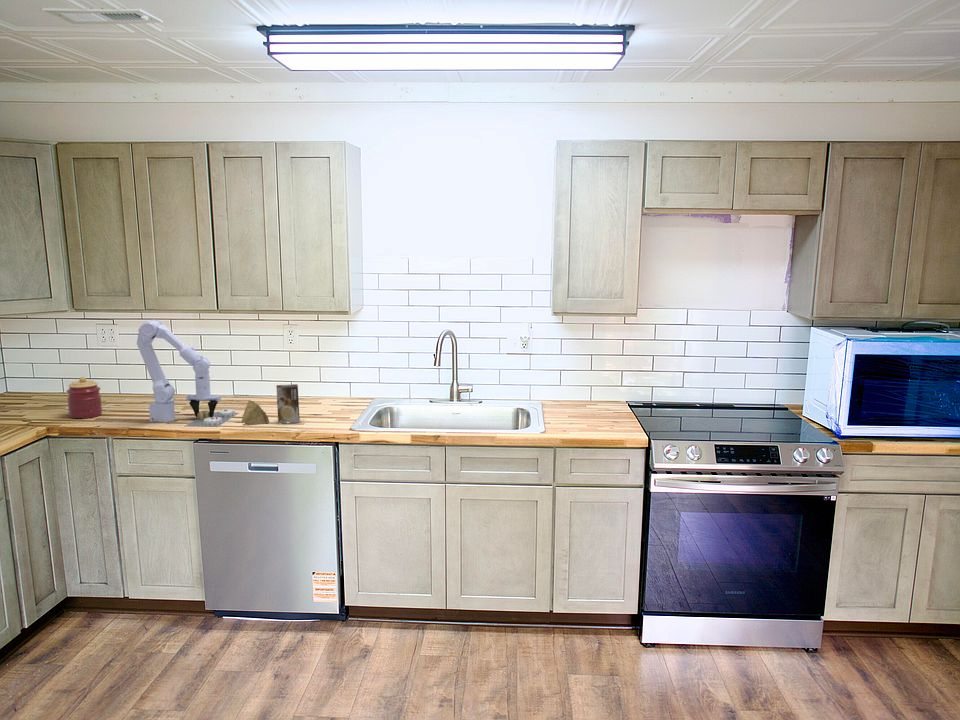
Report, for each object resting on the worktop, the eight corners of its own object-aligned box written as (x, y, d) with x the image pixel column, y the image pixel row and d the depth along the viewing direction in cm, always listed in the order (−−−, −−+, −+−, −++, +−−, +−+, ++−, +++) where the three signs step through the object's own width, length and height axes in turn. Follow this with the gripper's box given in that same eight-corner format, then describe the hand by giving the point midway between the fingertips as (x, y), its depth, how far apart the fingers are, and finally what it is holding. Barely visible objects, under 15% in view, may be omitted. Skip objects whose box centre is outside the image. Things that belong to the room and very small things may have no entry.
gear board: (184, 428, 275) (183, 419, 274) (208, 414, 298) (208, 405, 298) (217, 429, 275) (217, 419, 274) (239, 414, 298) (239, 406, 298)
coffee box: (299, 419, 292) (298, 383, 290) (299, 423, 286) (298, 386, 284) (277, 420, 290) (276, 384, 287) (277, 424, 284) (276, 387, 281)
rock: (275, 415, 289) (255, 410, 291) (269, 403, 282) (249, 398, 285) (262, 435, 282) (242, 429, 284) (255, 423, 276) (235, 417, 278)
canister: (92, 410, 302) (89, 372, 299) (108, 414, 296) (105, 376, 293) (62, 416, 291) (59, 377, 288) (78, 420, 285) (75, 380, 282)
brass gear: (195, 420, 285) (195, 413, 284) (201, 416, 290) (200, 410, 290) (208, 420, 285) (207, 413, 284) (213, 417, 290) (213, 410, 290)
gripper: (223, 384, 289) (224, 414, 291) (190, 384, 289) (192, 414, 291) (216, 388, 282) (218, 419, 284) (183, 387, 282) (184, 418, 284)
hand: (204, 416), depth 287 cm, fingers closed on brass gear, 6 cm apart
